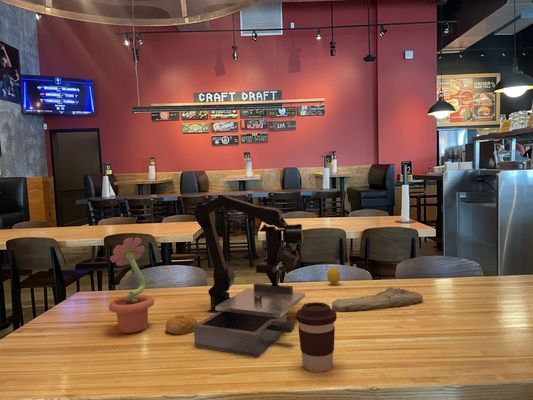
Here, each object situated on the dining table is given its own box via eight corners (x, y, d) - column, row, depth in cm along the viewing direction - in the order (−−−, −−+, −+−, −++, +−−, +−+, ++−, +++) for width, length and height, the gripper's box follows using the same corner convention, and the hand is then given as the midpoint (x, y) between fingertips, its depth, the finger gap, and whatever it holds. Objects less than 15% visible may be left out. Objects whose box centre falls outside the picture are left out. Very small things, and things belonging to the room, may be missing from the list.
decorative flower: (146, 317, 137) (141, 232, 136) (166, 327, 127) (161, 235, 126) (103, 330, 127) (97, 238, 126) (121, 341, 117) (116, 241, 116)
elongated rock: (327, 310, 143) (338, 320, 133) (326, 296, 142) (337, 305, 133) (412, 295, 150) (429, 304, 141) (412, 282, 150) (428, 290, 140)
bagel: (204, 324, 129) (203, 310, 129) (187, 337, 119) (186, 322, 118) (177, 322, 132) (176, 308, 132) (158, 334, 122) (158, 319, 122)
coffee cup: (294, 358, 101) (292, 301, 101) (332, 355, 102) (330, 298, 102) (301, 377, 92) (299, 314, 91) (342, 374, 92) (341, 311, 92)
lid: (215, 310, 123) (215, 298, 123) (248, 291, 143) (247, 281, 143) (279, 318, 114) (279, 305, 114) (305, 296, 134) (304, 286, 134)
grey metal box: (194, 346, 111) (193, 325, 111) (230, 322, 129) (229, 304, 129) (278, 361, 100) (278, 338, 100) (305, 332, 118) (304, 313, 118)
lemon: (340, 286, 167) (339, 268, 167) (327, 286, 168) (326, 268, 168) (340, 283, 173) (340, 265, 172) (327, 283, 174) (327, 265, 173)
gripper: (285, 249, 126) (287, 297, 127) (304, 240, 143) (305, 282, 144) (254, 248, 131) (256, 294, 131) (276, 239, 147) (277, 280, 148)
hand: (275, 287), depth 138 cm, fingers closed
